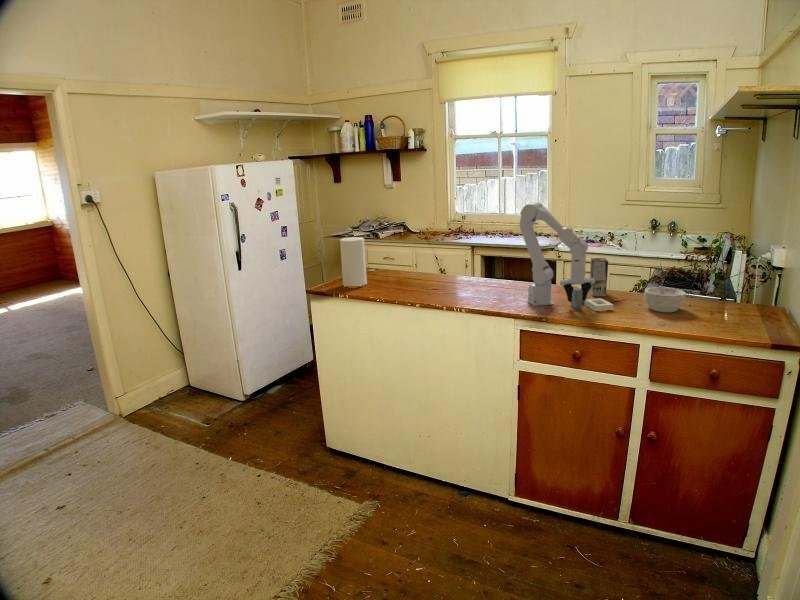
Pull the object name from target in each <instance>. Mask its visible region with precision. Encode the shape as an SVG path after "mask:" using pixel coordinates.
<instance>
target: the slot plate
mask: <svg viewBox="0 0 800 600" xmlns="http://www.w3.org/2000/svg"><path fill="white" fill-rule="evenodd" d="M584 306H585V307H587V308H588V307H589V310H592V311H594V312H595V311H599V312H608V311H607V310H611V311H614V303H611V302H610V301H608V300H605V299H603V298H602V297H601V298H590V299H589V298H587V300H585V302H584Z"/></svg>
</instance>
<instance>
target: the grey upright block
mask: <svg viewBox="0 0 800 600" xmlns="http://www.w3.org/2000/svg"><path fill="white" fill-rule="evenodd" d="M576 288H579V289H581V285H580V286H577V287H576ZM588 295H589V294H587V296H586V299H585V300H587V299H588ZM582 303H585V301H583V300H582Z"/></svg>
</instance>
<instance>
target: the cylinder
mask: <svg viewBox="0 0 800 600" xmlns="http://www.w3.org/2000/svg"><path fill="white" fill-rule="evenodd" d="M339 245H340V246H339V247H340V248H339V249H340V259H341V272H342V273H341V274H342V285H344V286H362V285H365V284H367V285H368V283H367V281H368V279H367V265H366V248H365V238H364V237H362V236H361V237H360V236H359V237H358V236H353V237H351V236H350V237H349V236H348V237H343V238H340V239H339Z"/></svg>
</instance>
